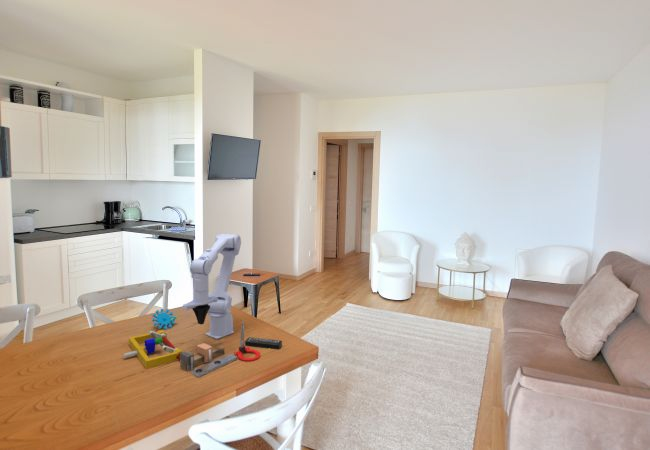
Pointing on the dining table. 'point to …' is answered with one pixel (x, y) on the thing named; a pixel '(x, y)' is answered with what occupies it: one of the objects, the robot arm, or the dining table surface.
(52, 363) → the dining table surface
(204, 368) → the steel strip
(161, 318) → the gear
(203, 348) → the block
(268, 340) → the multiport hub
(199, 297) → the robot arm
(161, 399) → the dining table surface
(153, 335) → the yellow frame mechanism
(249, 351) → the tow hook
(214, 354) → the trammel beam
